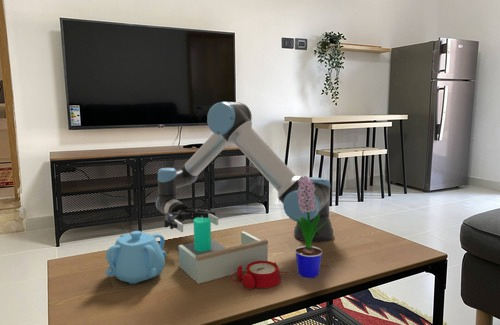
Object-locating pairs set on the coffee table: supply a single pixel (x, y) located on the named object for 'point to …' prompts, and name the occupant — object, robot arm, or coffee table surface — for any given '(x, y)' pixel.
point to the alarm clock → (259, 275)
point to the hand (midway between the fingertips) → (200, 224)
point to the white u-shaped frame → (223, 259)
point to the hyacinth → (308, 231)
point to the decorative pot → (136, 257)
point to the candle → (202, 234)
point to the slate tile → (214, 247)
